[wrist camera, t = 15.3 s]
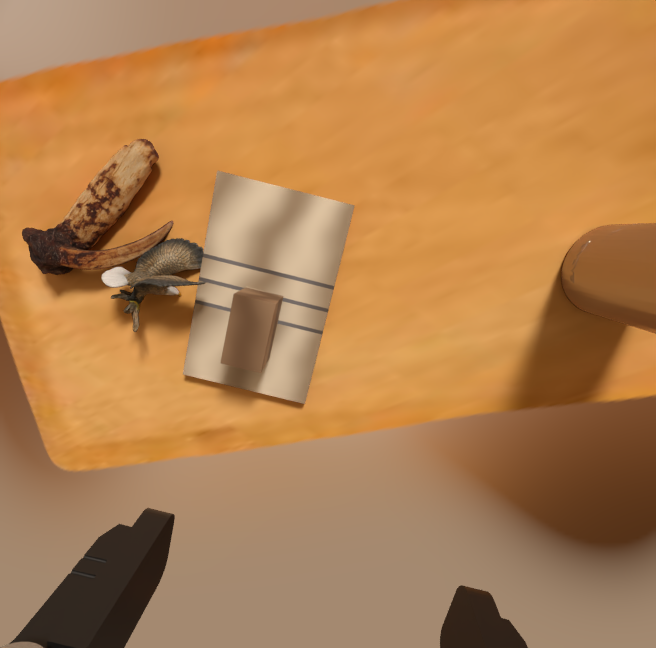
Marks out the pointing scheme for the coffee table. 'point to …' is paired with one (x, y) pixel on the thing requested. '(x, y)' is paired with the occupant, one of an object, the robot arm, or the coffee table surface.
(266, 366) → the birch board
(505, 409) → the coffee table surface
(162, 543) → the robot arm
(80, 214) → the lashed bone hook
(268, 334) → the block
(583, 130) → the coffee table surface
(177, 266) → the eagle figurine
